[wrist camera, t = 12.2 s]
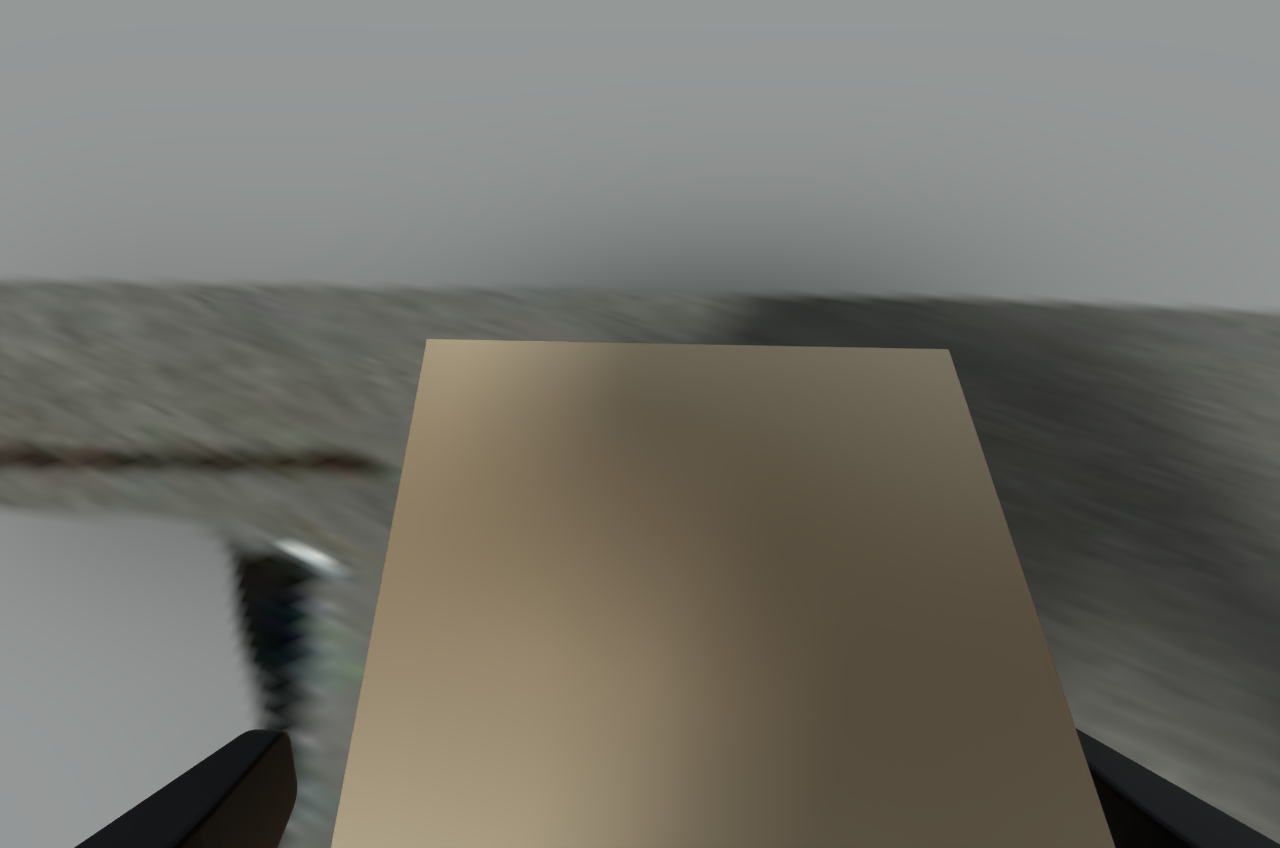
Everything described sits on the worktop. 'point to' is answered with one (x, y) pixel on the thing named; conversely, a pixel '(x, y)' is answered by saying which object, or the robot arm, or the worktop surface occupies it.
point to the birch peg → (705, 613)
